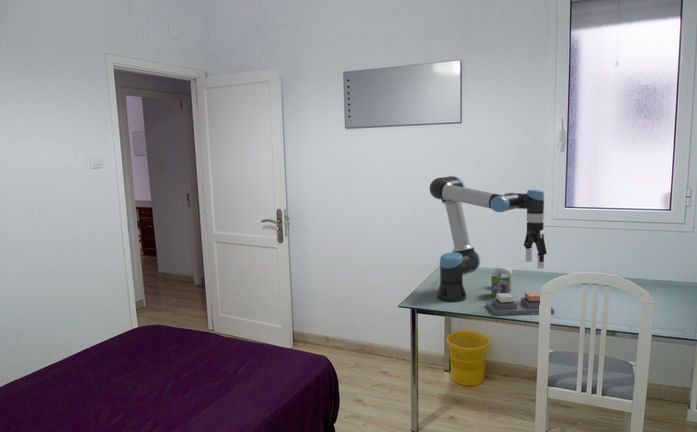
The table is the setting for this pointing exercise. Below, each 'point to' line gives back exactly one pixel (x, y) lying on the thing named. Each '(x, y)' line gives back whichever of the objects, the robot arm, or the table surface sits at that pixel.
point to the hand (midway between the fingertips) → (534, 264)
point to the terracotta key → (532, 296)
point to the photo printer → (505, 271)
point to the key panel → (514, 307)
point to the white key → (504, 297)
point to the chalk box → (500, 283)
